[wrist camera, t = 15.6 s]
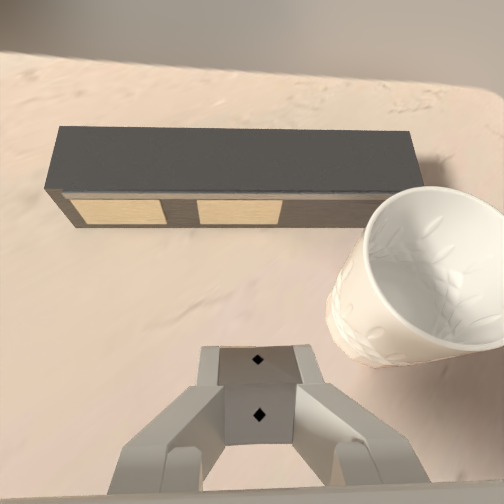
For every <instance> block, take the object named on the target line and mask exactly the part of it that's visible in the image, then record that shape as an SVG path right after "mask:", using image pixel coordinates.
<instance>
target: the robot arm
mask: <svg viewBox="0 0 504 504" xmlns="http://www.w3.org/2000/svg"><path fill="white" fill-rule="evenodd" d="M248 444H292V446H293V447H294V448H295V449H296V451H297V452H298V453H299V454H300V455H301V457H302V458H303V459H304V460H305V462H306V463H307V464H308V465H309V466H310V468H311V469H312V470H313V471H314V473H315V474H316V475H317V476H318V477H319V479H320V480H321V481H322V482H323V484H324V485H325V486H323V487H297V488H272V489H246V490H221V491H203V481H204V480H205V478H206V477H207V475H208V473H209V472H210V470H211V469H212V467H213V466H214V464H215V463H216V461H217V459H218V458H219V456H220V455H221V453H222V452H223V450H224V449H225V446H231V445H248ZM0 504H504V480H487V481H462V482H434V483H431V481H430V479H429V477H428V475H427V474H426V472H425V470H424V468H423V466H422V465H421V463H420V461H419V459H418V457H417V455H416V454H415V452H414V450H413V448H412V446H411V444H410V443H409V441H408V439H407V438H405V437H404V436H403V435H401V434H400V433H399V432H397V431H396V430H394V429H393V428H392V427H390V426H389V425H387V424H386V423H385V422H383V421H382V420H381V419H379V418H378V417H376V416H375V415H374V414H372V413H371V412H369V411H368V410H367V409H365V408H364V407H362V406H361V405H360V404H358V403H357V402H356V401H354V400H353V399H351V398H350V397H349V396H347V395H346V394H344V393H343V392H342V391H340V390H339V389H338V388H336V387H335V386H333V385H332V384H331V383H325V382H324V380H323V377H322V374H321V371H320V368H319V366H318V363H317V360H316V357H315V354H314V352H313V349H312V346H311V345H309V344H307V345H292V346H264V347H256V346H220V347H219V346H202V347H201V348H200V354H199V361H198V368H197V376H196V383H195V386H189V387H188V388H187V389H186V390H185V391H184V392H183V393H182V394H181V395H179V396H178V397H177V398H176V399H175V400H174V401H173V402H172V403H171V404H170V405H168V406H167V407H166V408H165V409H164V410H163V411H162V412H161V413H160V414H159V415H158V416H156V417H155V418H154V419H153V420H152V421H151V422H150V423H149V424H148V425H147V426H145V427H144V428H143V429H142V430H141V431H140V432H139V433H138V434H137V435H136V436H134V437H133V438H132V439H131V440H130V441H129V442H128V443H127V444H126V445H125V446H123V448H122V451H121V454H120V457H119V460H118V463H117V466H116V469H115V472H114V475H113V478H112V481H111V484H110V487H109V490H108V493H107V495H89V496H63V497H36V498H10V499H0Z"/></svg>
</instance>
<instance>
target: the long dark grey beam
mask: <svg viewBox="0 0 504 504" xmlns="http://www.w3.org/2000/svg"><path fill="white" fill-rule="evenodd" d="M423 186H424V184H423V180H422V177H421V173H420V169H419V165H418V162H417V158H416V154H415V150H414V147H413V143H412V139H411V136H410V132H409V131H361V130H293V129H224V128H156V127H88V126H59V130H58V134H57V138H56V142H55V146H54V150H53V154H52V158H51V162H50V166H49V170H48V174H47V178H46V182H45V186H44V189H45V191H46V192H47V193H48V194H49V196H50V197H51V198H52V199H53V200H54V202H55V203H56V204H57V205H58V207H59V208H60V209H61V210H62V212H63V213H64V214H65V215H66V217H67V218H68V219H69V220H70V222H71V223H72V224H73V225H74V226H75V228H365V227H366V225H367V223H368V222H369V220H370V218H371V216H372V215H373V213H374V212H375V211H376V209H377V208H378V207H379V206H380V205H381V204H382V203H383V202H384V201H386V200H387V199H388V198H390V197H391V196H393V195H395V194H397V193H399V192H401V191H404V190H407V189H411V188H415V187H423Z"/></svg>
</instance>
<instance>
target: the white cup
mask: <svg viewBox="0 0 504 504" xmlns="http://www.w3.org/2000/svg"><path fill="white" fill-rule="evenodd" d="M326 323H327V325H328V328H329V330H330V333H331V335H332V338H333V340H334V342H335V343H336V344H337V345H338V346H339V347H340V348H341V349H342V350H343V351H344V352H345V353H346V354H347V355H348V356H349V357H350V358H351V359H352V360H355V361H357V362H360V363H363V364H365V365H368V366H370V367H373V368H381V367H393V366H407V365H413V364H420V363H426V362H433V361H438V360H443V359H448V358H453V357H457V356H462V355H467V354H472V353H476V352H481V351H486V350H492V349H496V348H499V347H502V346H504V214H502V213H501V212H500V211H499V210H497V209H496V208H494V207H493V206H491V205H490V204H488V203H487V202H485V201H483V200H481V199H479V198H477V197H475V196H473V195H471V194H468V193H465V192H463V191H459V190H456V189H452V188H446V187H438V186H423V187H415V188H411V189H407V190H404V191H401V192H399V193H397V194H395V195H393V196H391V197H390V198H388V199H387V200H386V201H384V202H383V203H382V204H381V205H380V206H379V207H378V208H377V209H376V211H375V212H374V213H373V215H372V216H371V218H370V220H369V222H368V223H367V225H366V227H365V229H364V230H363V232H362V234H361V236H360V237H359V239H358V241H357V242H356V244H355V246H354V248H353V249H352V251H351V253H350V255H349V256H348V258H347V260H346V262H345V263H344V265H343V267H342V269H341V271H340V273H339V275H338V277H337V279H336V283H335V286H334V288H333V290H332V291H331V293H330V295H329V296H328V298H327V306H326Z"/></svg>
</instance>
